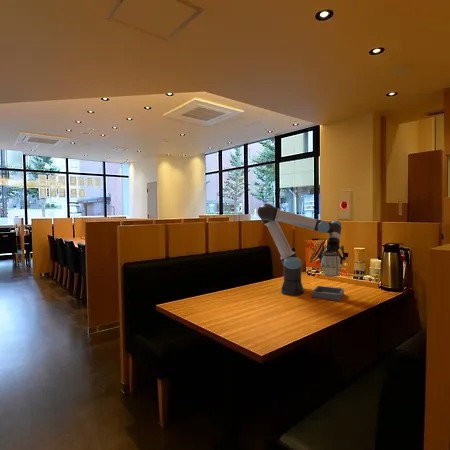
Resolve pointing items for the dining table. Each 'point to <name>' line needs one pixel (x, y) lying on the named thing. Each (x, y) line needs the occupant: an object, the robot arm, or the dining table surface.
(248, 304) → the dining table surface
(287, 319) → the dining table surface
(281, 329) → the dining table surface
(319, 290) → the tray
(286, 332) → the dining table surface
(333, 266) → the coffee can
